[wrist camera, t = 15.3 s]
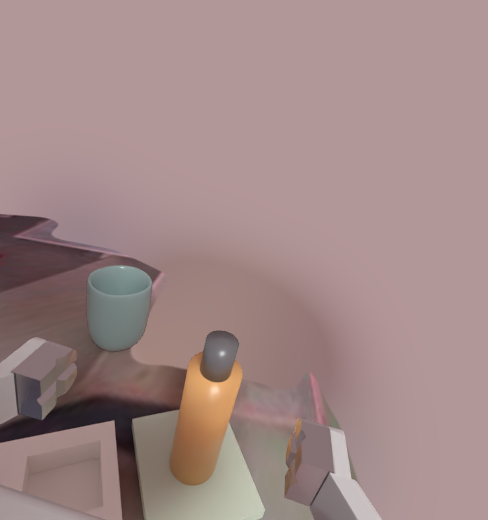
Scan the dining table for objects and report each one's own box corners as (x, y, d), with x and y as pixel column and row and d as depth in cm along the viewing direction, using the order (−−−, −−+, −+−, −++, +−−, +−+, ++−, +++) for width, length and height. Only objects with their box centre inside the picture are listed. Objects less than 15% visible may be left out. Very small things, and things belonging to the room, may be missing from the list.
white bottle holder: (-162, 654, 18) (-185, 624, 17) (-92, 490, 25) (-104, 458, 24) (120, 550, 25) (123, 521, 23) (112, 444, 32) (114, 416, 30)
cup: (76, 333, 45) (77, 270, 41) (129, 317, 50) (134, 261, 46) (100, 368, 40) (103, 302, 36) (155, 347, 46) (163, 287, 41)
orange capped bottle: (165, 445, 32) (187, 325, 26) (207, 434, 34) (237, 321, 28) (175, 492, 28) (203, 366, 22) (222, 477, 30) (260, 358, 24)
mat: (131, 426, 34) (132, 418, 34) (218, 408, 39) (220, 401, 38) (149, 563, 25) (150, 555, 24) (261, 517, 29) (265, 510, 29)
